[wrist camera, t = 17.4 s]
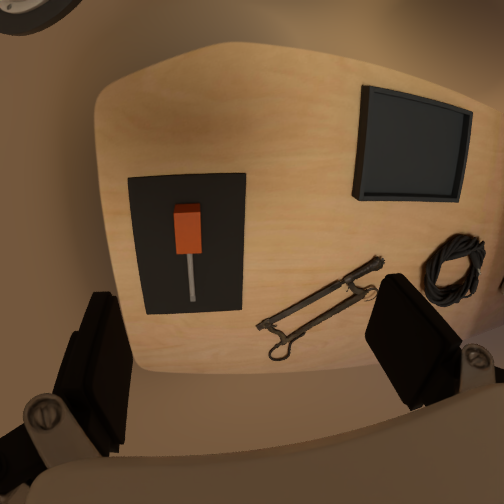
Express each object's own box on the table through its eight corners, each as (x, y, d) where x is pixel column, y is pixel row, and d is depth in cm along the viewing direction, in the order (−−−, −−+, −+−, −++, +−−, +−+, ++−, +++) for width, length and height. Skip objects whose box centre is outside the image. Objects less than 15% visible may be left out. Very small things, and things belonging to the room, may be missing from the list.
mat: (128, 177, 34) (127, 178, 34) (245, 172, 37) (246, 173, 36) (146, 312, 44) (146, 314, 44) (241, 308, 46) (241, 309, 46)
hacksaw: (380, 251, 46) (385, 256, 44) (393, 294, 51) (397, 299, 49) (245, 329, 48) (246, 336, 47) (274, 362, 53) (276, 369, 52)
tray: (351, 195, 40) (358, 201, 39) (361, 85, 33) (369, 85, 31) (450, 198, 43) (458, 202, 42) (464, 109, 36) (473, 111, 34)
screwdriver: (174, 204, 37) (173, 213, 34) (199, 203, 37) (200, 212, 35) (182, 294, 43) (181, 308, 40) (203, 293, 43) (204, 307, 41)
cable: (406, 294, 51) (419, 308, 48) (438, 224, 45) (454, 235, 42) (459, 297, 56) (471, 309, 52) (488, 238, 50) (502, 249, 46)
